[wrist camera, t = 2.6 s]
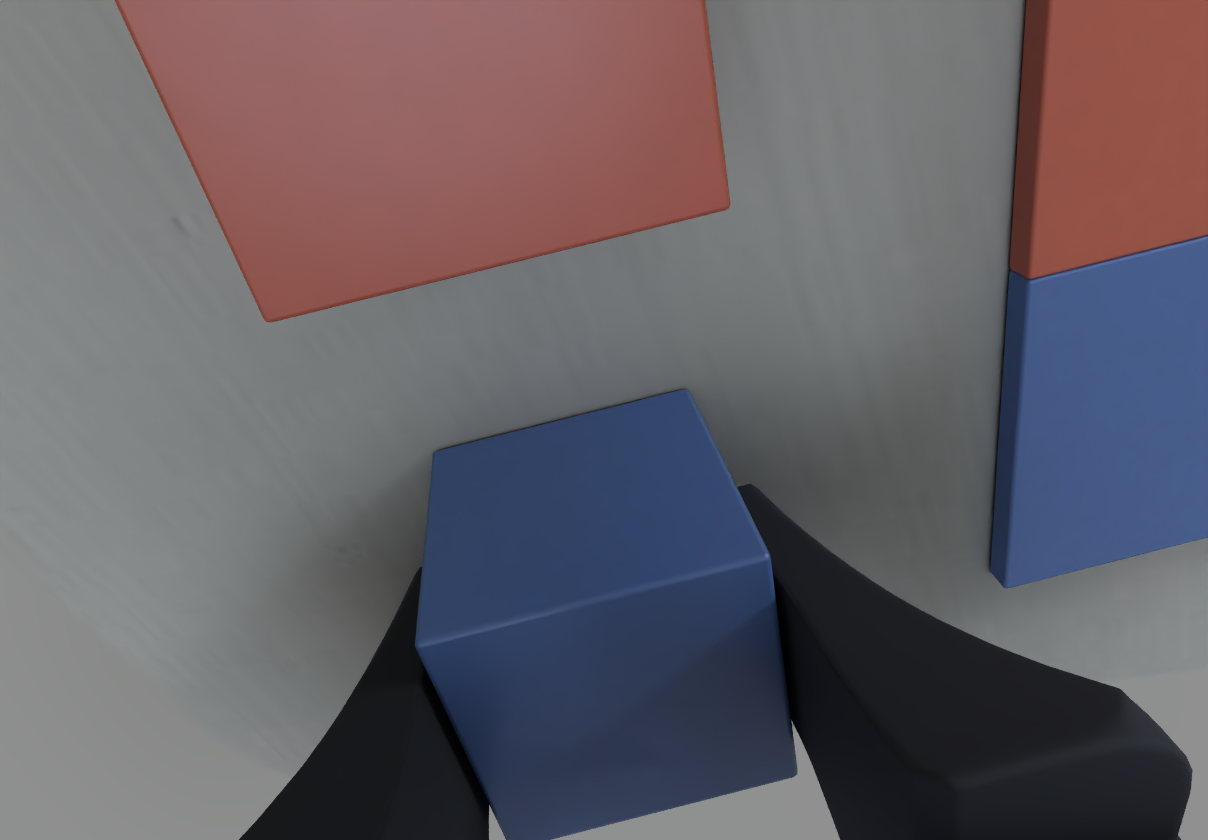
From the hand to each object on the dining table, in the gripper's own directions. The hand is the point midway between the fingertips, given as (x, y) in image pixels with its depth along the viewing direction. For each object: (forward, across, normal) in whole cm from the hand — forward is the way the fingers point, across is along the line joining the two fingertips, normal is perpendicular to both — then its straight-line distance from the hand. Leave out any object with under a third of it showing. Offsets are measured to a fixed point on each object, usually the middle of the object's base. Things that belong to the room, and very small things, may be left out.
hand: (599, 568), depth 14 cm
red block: (+1, 0, -9) cm, 9 cm away
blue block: (+1, 0, 0) cm, 1 cm away
